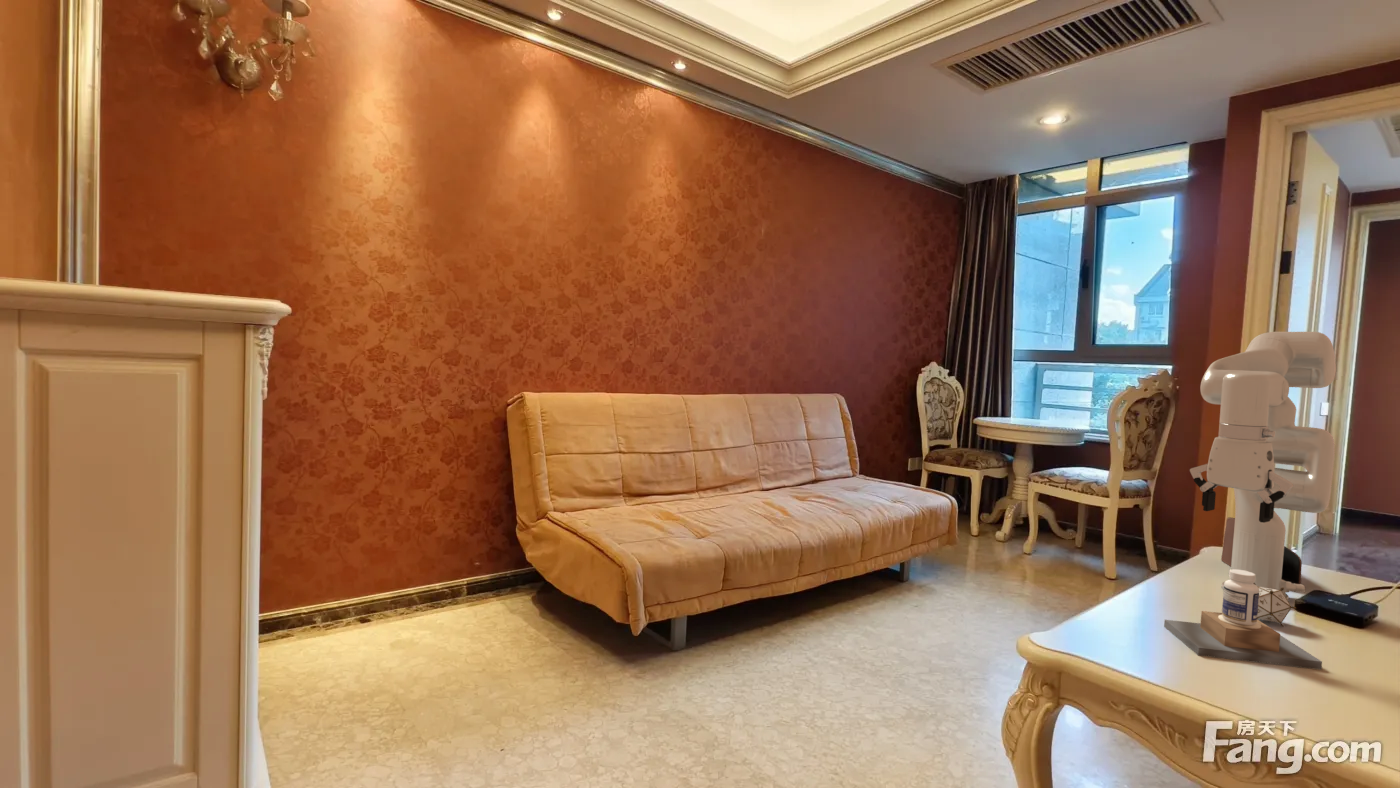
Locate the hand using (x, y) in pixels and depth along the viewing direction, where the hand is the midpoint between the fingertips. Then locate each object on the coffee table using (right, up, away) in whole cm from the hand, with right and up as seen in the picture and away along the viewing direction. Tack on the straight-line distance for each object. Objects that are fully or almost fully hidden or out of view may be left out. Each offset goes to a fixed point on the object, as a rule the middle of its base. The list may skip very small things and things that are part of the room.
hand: (1235, 515), depth 135 cm
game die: (+14, -25, +9) cm, 30 cm away
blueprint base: (-3, -25, -4) cm, 26 cm away
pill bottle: (-3, -20, -5) cm, 21 cm away
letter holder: (+42, -24, +44) cm, 65 cm away
